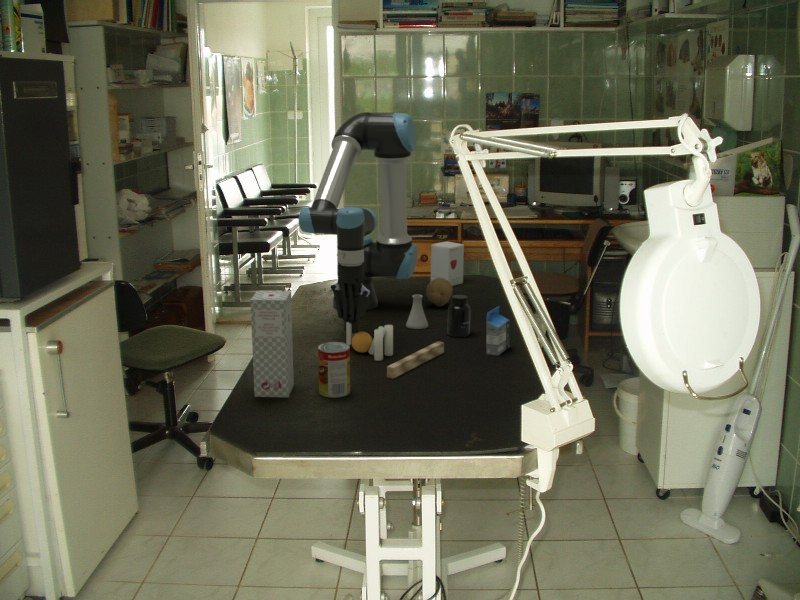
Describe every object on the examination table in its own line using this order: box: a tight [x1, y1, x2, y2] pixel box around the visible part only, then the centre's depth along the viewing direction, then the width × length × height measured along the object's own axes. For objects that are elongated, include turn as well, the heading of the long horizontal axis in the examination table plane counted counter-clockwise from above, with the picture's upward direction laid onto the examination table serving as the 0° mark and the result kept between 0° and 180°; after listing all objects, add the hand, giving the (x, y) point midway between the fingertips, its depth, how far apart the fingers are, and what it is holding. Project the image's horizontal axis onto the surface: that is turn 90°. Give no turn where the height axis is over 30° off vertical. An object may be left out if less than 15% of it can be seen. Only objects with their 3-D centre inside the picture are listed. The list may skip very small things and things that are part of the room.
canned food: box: [317, 341, 351, 399], centre depth 221 cm, size 8×8×12 cm
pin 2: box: [384, 324, 394, 357], centre depth 249 cm, size 2×2×8 cm
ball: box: [351, 331, 373, 353], centre depth 251 cm, size 6×6×6 cm
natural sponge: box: [425, 278, 454, 308], centre depth 297 cm, size 9×9×10 cm
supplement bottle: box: [447, 294, 471, 338], centre depth 267 cm, size 7×7×12 cm
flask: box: [405, 294, 429, 330], centre depth 275 cm, size 7×7×10 cm
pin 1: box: [373, 328, 384, 362], centre depth 245 cm, size 2×2×8 cm
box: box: [250, 290, 295, 398], centre depth 219 cm, size 8×8×25 cm
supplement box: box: [430, 241, 465, 287], centre depth 327 cm, size 9×9×15 cm
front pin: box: [367, 325, 386, 356], centre depth 248 cm, size 2×2×8 cm
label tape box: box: [485, 305, 511, 357], centre depth 252 cm, size 9×4×12 cm, turn 151°
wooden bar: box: [386, 340, 445, 380], centre depth 242 cm, size 26×2×3 cm, turn 146°
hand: (351, 343), depth 253 cm, fingers closed
